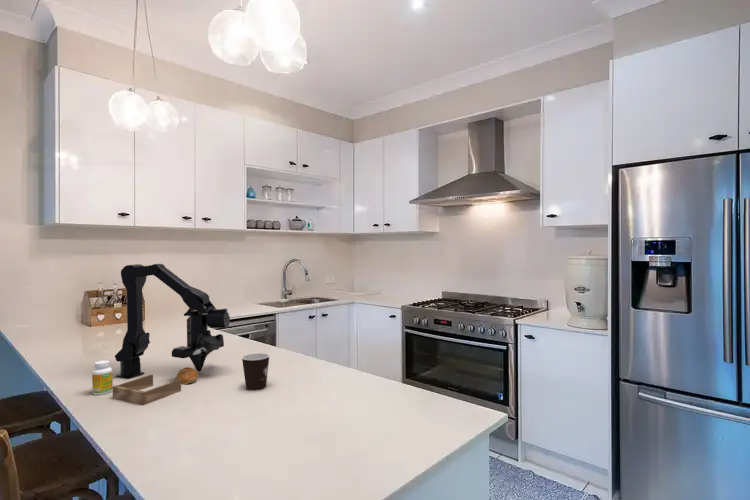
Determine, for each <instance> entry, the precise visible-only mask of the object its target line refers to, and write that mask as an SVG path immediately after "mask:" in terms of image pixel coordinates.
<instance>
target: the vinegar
mask: <svg viewBox="0 0 750 500" xmlns="http://www.w3.org/2000/svg"><path fill="white" fill-rule="evenodd" d="M188 309H190V308H189V307H188ZM194 311H197V310H194ZM188 331H190V316H188V318H187V319H186V344H187V345H186V347H191V346H188V343H189V342H190V334H188ZM195 349H196V348H195Z"/></svg>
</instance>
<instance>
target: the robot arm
mask: <svg viewBox="0 0 750 500" xmlns="http://www.w3.org/2000/svg"><path fill="white" fill-rule="evenodd" d="M148 276H149V277H150V276H154V277H155V278H157V279H158V280H160V282H162V283H163V284H165V285H166V286H167V287H168V288H170V289H171V290H173V292H175V293H176V294H177V295H179V296H180V298H181V299H182V301H183V303H184V304H185V305H186V306H187V307H188V309H187V311H185V312H184V314H183V316H184V317H189V316H190V331H188V334H190V342H189V343H188V346H191V347H187V346H183V345H182V346H177V347H175V348H172V351H171V357H172V358H179V359H187V358H189V359H190V360H191V363H192V364H193V366H194V369H195V370H196V371H197V373H200V372H202V370H203V367H204V364H205V361H206V359H207V357H208V355H209V354H210V353H212V352H214V351H216V350H219V349H220V348H222V347H223V348H224V344H225V341H224V335H223V334H221V333H219V334H216V335H212V334H211V333H212V332H211V330H210V329H228V328H229V326H230V323H231V316H230V314H229V311H228V308H219V309H218V308H216V307H215V305H214V304H213V302H211V300H210V295H208V293H206V292H204V291H203V290H201V289H198V288H197V287H193V286H192V285H189V284H188V283H186V282H185V281H184V280H183V279H182V278H180V277H179V276H178V275H177V274H175V273H173V272H172V271H171V270H170V269H169V268H167V267H166V266H165V265H164V264H162V263H154V264H150V265H143V264H139V263H137V264H127V265H125V266H124V267H123V268H122V269H121V270H120V277H121V283H122V285H123V286H124V288H125V290H126V320H127V321H126V322H127V323H126V325H127V329H126V332H125V335H124V336H123V339H122V348H121V349H120V350H118V351H117V353H116V354H115V355H114V358H115V361H116V362H119V363H120V365H119V366H120V373H119V374H116V376H115V377H117V378H122V379H133V378H135V377H138V376H141V375H144V374H145V372H144V371H142V369H141V365H142V364H141V356H144V353H145V351H146V350H147V349H148V348H149V344H151V341H150V335H151V334H150V332H146V331H145V330H144V322H143V320H144V318H143V289H144V286H145V284H146V282H147V277H148ZM189 308H190V309H189ZM194 310H197V311H194ZM208 327H209V328H210V329H208ZM195 348H196V349H195Z"/></svg>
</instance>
